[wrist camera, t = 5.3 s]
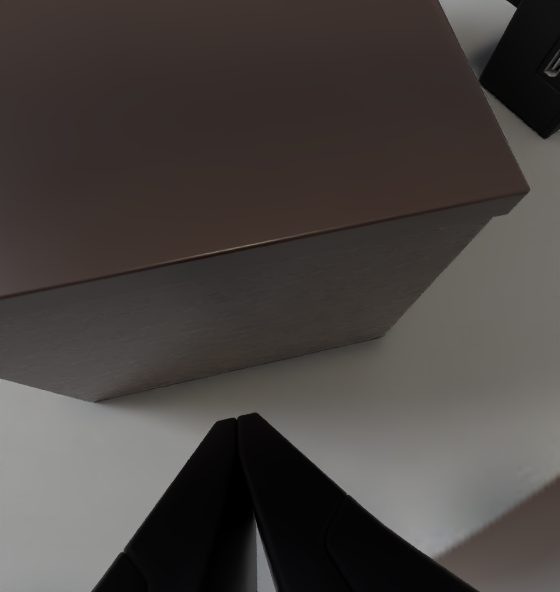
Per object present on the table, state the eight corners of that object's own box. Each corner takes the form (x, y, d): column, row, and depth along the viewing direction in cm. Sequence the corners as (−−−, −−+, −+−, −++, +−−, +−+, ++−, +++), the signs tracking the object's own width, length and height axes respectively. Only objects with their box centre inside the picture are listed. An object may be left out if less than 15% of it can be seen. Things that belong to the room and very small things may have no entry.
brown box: (387, 339, 17) (532, 190, 7) (87, 406, 16) (-199, 338, 6) (279, 1, 22) (281, -324, 13) (58, 36, 22) (-113, -286, 12)
